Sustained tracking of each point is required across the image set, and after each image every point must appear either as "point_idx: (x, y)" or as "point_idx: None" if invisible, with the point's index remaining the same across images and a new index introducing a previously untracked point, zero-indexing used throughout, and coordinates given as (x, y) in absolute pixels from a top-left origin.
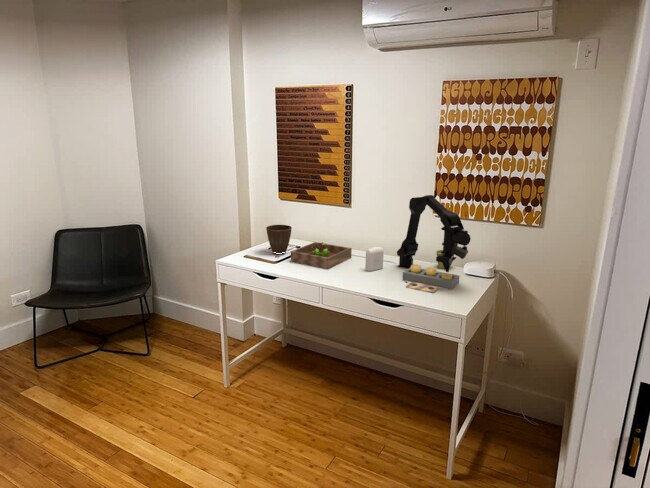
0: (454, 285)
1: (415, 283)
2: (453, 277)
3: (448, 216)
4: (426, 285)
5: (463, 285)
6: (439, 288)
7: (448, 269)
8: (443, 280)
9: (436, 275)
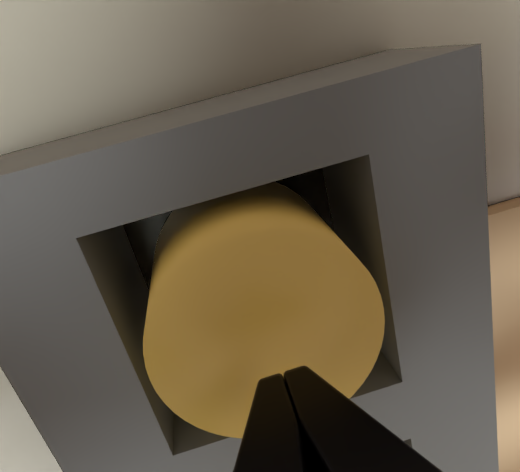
0: (262, 88)
1: (508, 467)
2: (95, 252)
3: None
4: (497, 366)
5: (13, 22)
6: None
7: (364, 418)
8: (484, 240)
9: None
